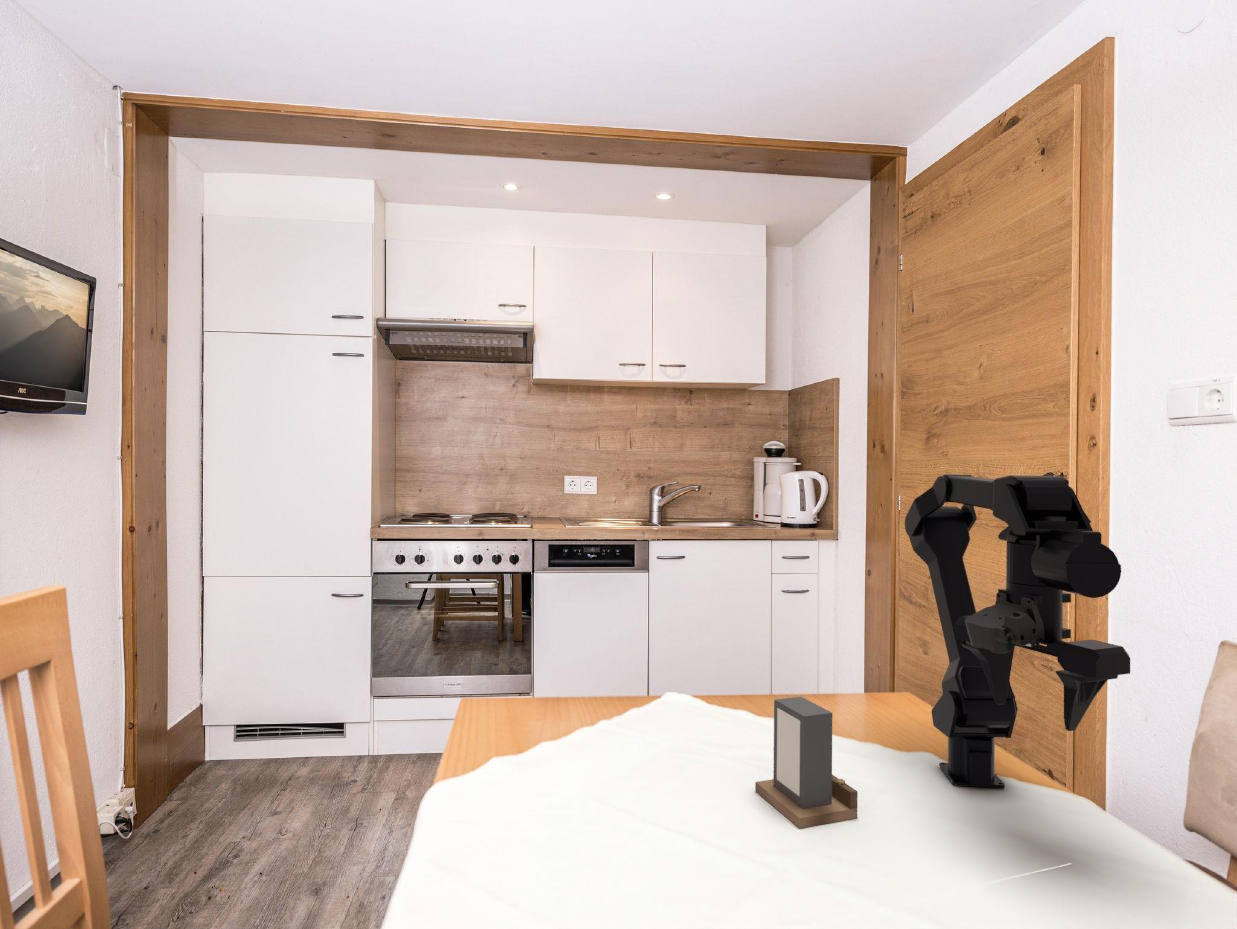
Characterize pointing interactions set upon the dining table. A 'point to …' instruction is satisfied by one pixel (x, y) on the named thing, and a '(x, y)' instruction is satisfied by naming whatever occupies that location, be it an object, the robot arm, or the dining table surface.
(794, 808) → the drawer
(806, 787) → the grey box
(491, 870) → the dining table surface
